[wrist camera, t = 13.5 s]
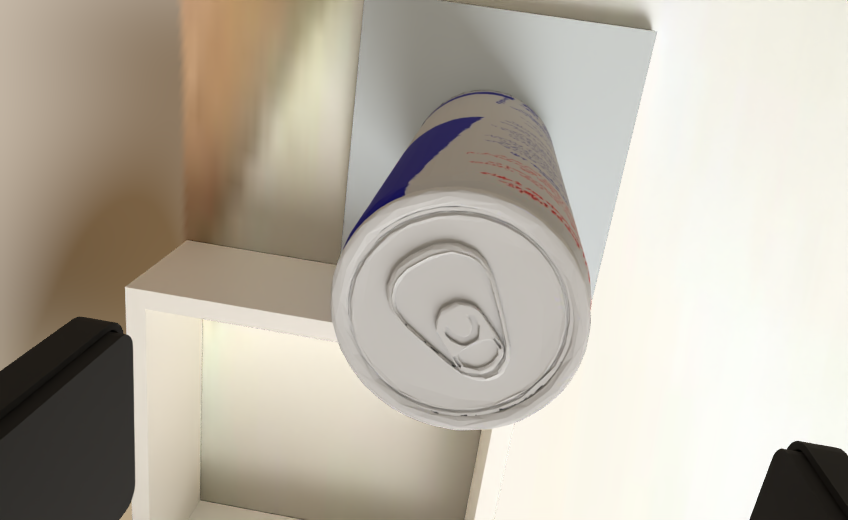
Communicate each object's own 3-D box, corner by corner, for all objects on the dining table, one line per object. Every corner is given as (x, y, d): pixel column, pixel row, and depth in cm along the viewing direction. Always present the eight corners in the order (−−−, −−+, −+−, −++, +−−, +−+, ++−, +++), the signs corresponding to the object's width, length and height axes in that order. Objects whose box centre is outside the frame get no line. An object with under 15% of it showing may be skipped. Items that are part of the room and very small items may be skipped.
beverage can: (446, 64, 27) (380, 139, 13) (578, 123, 27) (650, 258, 13) (394, 192, 29) (287, 375, 15) (516, 246, 29) (522, 474, 15)
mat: (590, 292, 30) (592, 299, 30) (344, 251, 31) (340, 257, 30) (653, 30, 26) (657, 31, 26) (369, -10, 27) (365, -10, 26)
